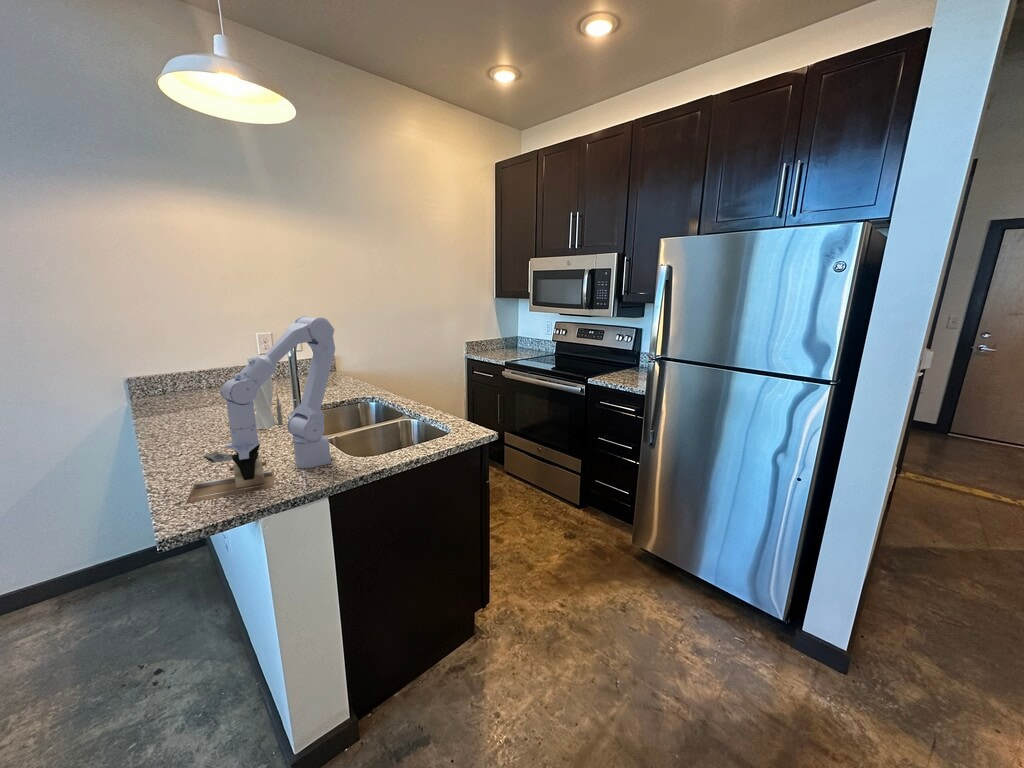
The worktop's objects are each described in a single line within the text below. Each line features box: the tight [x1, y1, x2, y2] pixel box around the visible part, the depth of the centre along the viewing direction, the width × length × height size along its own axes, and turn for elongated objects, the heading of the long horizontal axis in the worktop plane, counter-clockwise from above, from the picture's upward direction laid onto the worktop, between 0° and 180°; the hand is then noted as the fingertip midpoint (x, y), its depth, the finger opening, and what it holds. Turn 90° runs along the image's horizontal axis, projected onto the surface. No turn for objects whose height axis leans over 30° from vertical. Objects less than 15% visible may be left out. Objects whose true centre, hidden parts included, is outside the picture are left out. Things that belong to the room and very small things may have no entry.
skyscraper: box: [246, 356, 284, 429], centre depth 153 cm, size 8×8×28 cm
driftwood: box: [203, 451, 233, 463], centre depth 124 cm, size 21×7×2 cm, turn 51°
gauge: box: [229, 456, 267, 488], centre depth 107 cm, size 8×4×6 cm, turn 119°
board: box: [185, 469, 275, 505], centre depth 106 cm, size 18×12×2 cm, turn 119°
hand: (249, 475), depth 107 cm, fingers closed on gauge, 4 cm apart
